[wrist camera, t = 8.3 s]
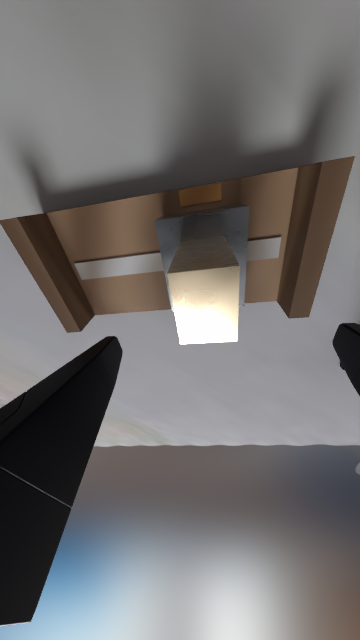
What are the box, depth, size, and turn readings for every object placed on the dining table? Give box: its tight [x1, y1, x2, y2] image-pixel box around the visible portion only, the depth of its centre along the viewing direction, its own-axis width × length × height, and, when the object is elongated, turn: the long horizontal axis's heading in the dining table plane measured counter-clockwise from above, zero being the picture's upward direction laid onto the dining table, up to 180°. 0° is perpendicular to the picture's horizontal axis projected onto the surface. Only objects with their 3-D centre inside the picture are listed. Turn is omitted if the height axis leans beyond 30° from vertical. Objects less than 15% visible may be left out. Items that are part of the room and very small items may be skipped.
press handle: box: [154, 204, 249, 344], centre depth 12 cm, size 6×7×8 cm
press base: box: [0, 156, 355, 333], centre depth 16 cm, size 22×10×4 cm, turn 98°
